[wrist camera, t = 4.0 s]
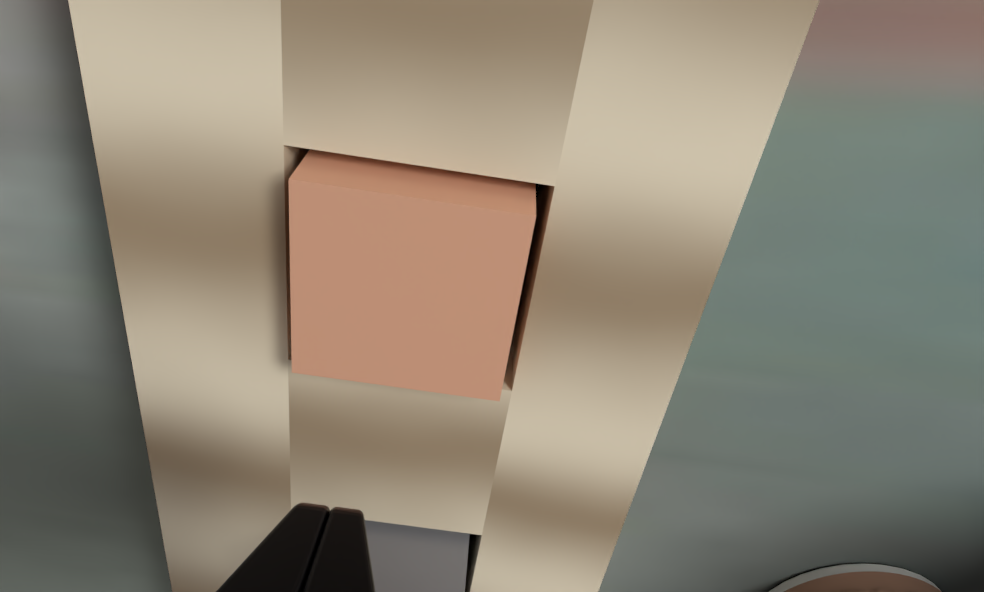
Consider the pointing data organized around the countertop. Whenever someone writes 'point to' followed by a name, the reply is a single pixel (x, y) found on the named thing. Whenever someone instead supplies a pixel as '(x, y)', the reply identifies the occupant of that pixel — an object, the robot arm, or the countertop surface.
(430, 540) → the charcoal key
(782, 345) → the countertop surface
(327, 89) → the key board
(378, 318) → the terracotta key
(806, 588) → the coffee cup
